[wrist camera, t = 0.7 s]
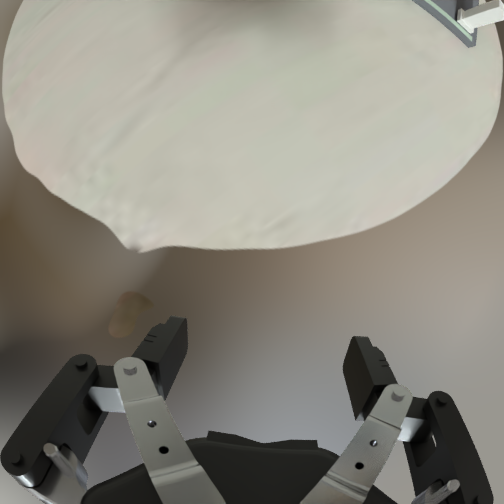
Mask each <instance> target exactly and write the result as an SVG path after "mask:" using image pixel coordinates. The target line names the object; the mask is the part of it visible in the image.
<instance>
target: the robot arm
mask: <svg viewBox="0 0 504 504" xmlns="http://www.w3.org/2000/svg"><path fill="white" fill-rule="evenodd" d="M187 349H188V332H187V319H186V318H182V317H177V316H170V318H169V319H168V320H167V322H166V324H158V325H156V326H155V327H153V328H152V329H151V330H150V331H149V333H148V334H147V336H146V337H145V338H144V341H142V342H141V344H140V345H139V347H138V348H137V349H136V351H135V352H134V354H133V355H132V356H131V357H128V358H123V359H121V360H119V361H118V362H117V363H116V364H115V365H114V366H103V365H97V363H96V360H95V359H94V358H93V357H92V356H90V355H86V354H80V355H76V356H74V357H72V358H71V359H70V360H69V361H68V362H67V363H66V364H65V366H64V367H63V368H62V369H61V370H60V372H59V373H58V374H57V375H56V377H55V378H54V379H53V380H52V382H51V383H50V384H49V386H48V387H47V388H46V389H45V391H44V392H43V393H42V395H41V396H40V397H39V398H38V400H37V401H36V403H35V404H34V405H33V406H32V408H31V409H30V410H29V412H28V413H27V415H26V416H25V417H24V419H23V420H22V421H21V423H20V424H19V426H18V427H17V429H16V430H15V431H14V433H13V434H12V436H11V437H10V439H9V440H8V442H7V443H6V445H5V446H4V448H3V450H2V452H1V455H0V456H1V457H0V458H1V463H2V466H3V467H4V469H5V470H6V471H7V472H8V473H9V474H10V475H11V476H12V477H14V479H16V481H17V482H18V483H19V484H20V485H21V486H22V487H24V488H25V489H26V490H27V491H28V492H30V493H31V494H32V495H33V496H35V497H36V498H38V499H40V500H41V501H42V502H43V503H45V504H397V503H396V502H395V501H393V500H392V499H391V498H389V497H388V496H387V495H386V494H384V493H383V492H382V491H381V490H379V489H378V488H377V487H375V486H374V485H373V483H374V482H375V480H376V478H377V477H378V475H379V473H380V472H381V470H382V468H383V466H384V464H385V463H386V461H387V459H388V457H389V455H390V453H391V451H392V449H393V447H394V445H395V443H396V441H397V440H401V441H403V444H404V448H405V452H406V456H407V460H408V464H409V468H410V473H411V477H412V482H413V486H414V491H415V496H416V498H415V499H414V500H413V501H412V503H411V504H493V494H492V491H491V487H490V484H489V482H488V479H487V476H486V473H485V471H484V468H483V465H482V463H481V460H480V458H479V455H478V453H477V450H476V448H475V445H474V444H473V441H472V439H471V436H470V434H469V432H468V430H467V428H466V425H465V423H464V421H463V419H462V417H461V415H460V413H459V411H458V409H457V407H456V405H455V403H454V401H453V399H452V398H451V396H450V395H448V394H447V393H445V392H442V391H434V392H432V393H431V394H430V395H429V397H428V398H427V399H424V398H417V397H413V396H412V393H411V392H410V390H409V389H408V388H406V387H404V386H403V385H399V384H398V383H397V381H396V379H395V377H394V375H393V372H392V370H391V369H390V367H389V364H388V362H387V361H386V358H385V356H384V354H383V352H382V351H380V350H379V349H378V348H377V347H373V346H372V344H371V342H370V340H369V338H368V337H360V336H353V337H352V339H351V341H350V344H349V347H348V350H347V353H346V356H345V359H344V363H343V374H344V378H345V381H346V385H347V389H348V392H349V396H350V400H351V404H352V408H353V412H354V416H355V420H356V421H364V423H363V425H362V426H361V428H360V429H359V431H358V432H357V433H356V435H355V436H354V438H353V439H352V441H351V442H350V444H349V445H348V446H347V448H346V449H345V450H344V452H343V453H342V454H341V456H338V455H337V454H335V453H333V452H331V451H329V450H326V449H323V448H319V447H318V444H317V440H286V441H279V442H271V443H260V442H256V441H253V440H250V439H247V438H244V437H241V436H238V435H234V434H226V433H220V432H214V431H209V432H208V436H207V437H206V438H205V437H204V438H195V439H190V440H187V441H185V440H184V438H183V437H182V435H181V433H180V431H179V430H178V427H177V425H176V424H175V422H174V420H173V418H172V416H171V414H170V412H169V410H168V408H167V406H166V404H165V400H166V398H167V395H168V393H169V391H170V389H171V387H172V385H173V382H174V380H175V378H176V376H177V374H178V372H179V369H180V367H181V365H182V363H183V361H184V358H185V356H186V354H187ZM109 412H123V413H126V416H127V419H128V422H129V425H130V428H131V430H132V433H133V436H134V439H135V441H136V444H137V447H138V449H139V452H140V454H141V457H142V459H143V462H144V463H142V464H140V465H139V466H137V467H134V468H132V469H130V470H128V471H126V472H124V473H122V474H120V475H118V476H115V477H113V478H111V479H109V480H106V481H104V482H102V483H99V484H97V485H95V486H93V487H92V488H90V489H89V490H87V480H88V473H87V470H86V469H85V467H84V466H83V463H84V461H85V459H86V456H87V454H88V452H89V450H90V448H91V446H92V444H93V442H94V440H95V438H96V436H97V434H98V432H99V430H100V428H101V426H102V424H103V423H104V421H105V419H106V417H107V415H108V413H109ZM432 435H434V438H435V441H436V447H435V443H434V441H433V438H432Z"/></svg>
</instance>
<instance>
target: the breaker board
mask: <svg viewBox="0 0 504 504" xmlns="http://www.w3.org/2000/svg"><path fill="white" fill-rule="evenodd" d="M412 1H414V2H415V3H417V4H418V5H419V6H421V7H422V8H423V9H425V10H426V11H427V12H429V13H430V14H431V15H432V16H434V17H435V18H436V19H437V20H439V21H440V22H441V23H442V24H443V25H444V26H446V27H447V28H448V29H449V30H450V31H451V32H452V33H454V34H455V35H456V36H457V37H458V38H459V39H460V40H461V41H462V42H463V43H464V44H465V45H466V46H467V47H468V48H469V47H473V46H476V38H477V27H480V26H484V25H487V24H491V23H494V22H498V21H502V20H504V4H503V3H502V1H501V0H493V1H490V2H487V3H484V4H482V5H479V0H412Z"/></svg>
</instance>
